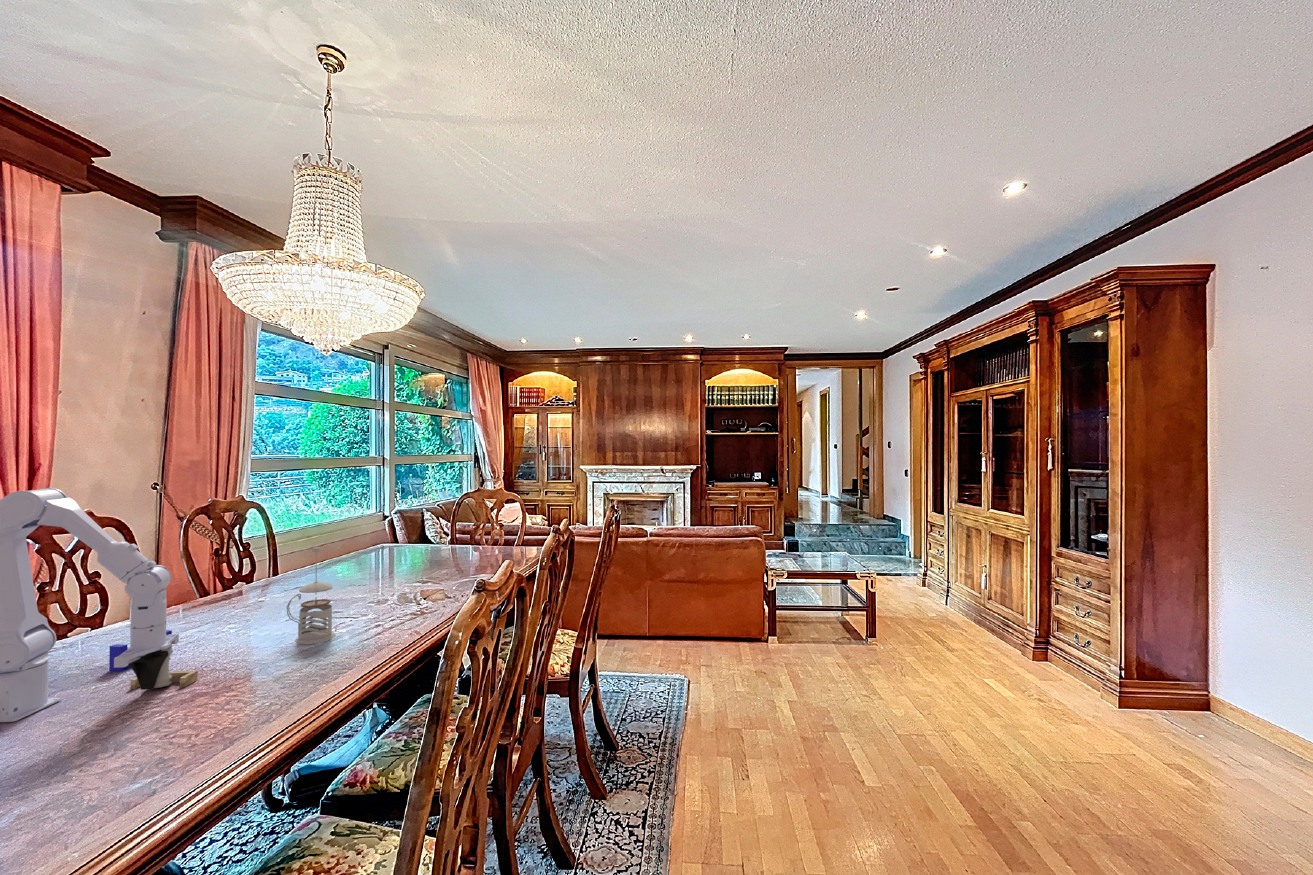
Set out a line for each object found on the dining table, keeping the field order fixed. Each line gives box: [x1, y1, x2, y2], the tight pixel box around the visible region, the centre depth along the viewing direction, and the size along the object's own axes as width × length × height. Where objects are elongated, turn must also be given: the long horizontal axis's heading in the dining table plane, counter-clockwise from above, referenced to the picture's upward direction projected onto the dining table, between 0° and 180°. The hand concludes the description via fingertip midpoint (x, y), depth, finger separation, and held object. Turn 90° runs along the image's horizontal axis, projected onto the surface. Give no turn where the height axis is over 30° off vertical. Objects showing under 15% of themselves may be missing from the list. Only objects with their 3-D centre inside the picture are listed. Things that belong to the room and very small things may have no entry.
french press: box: [286, 546, 337, 645], centre depth 155 cm, size 10×12×25 cm
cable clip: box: [108, 629, 173, 673], centre depth 138 cm, size 12×4×6 cm, turn 171°
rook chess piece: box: [153, 647, 174, 689], centre depth 123 cm, size 4×4×8 cm
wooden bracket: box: [129, 670, 199, 690], centre depth 124 cm, size 4×11×2 cm, turn 95°
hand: (147, 688), depth 120 cm, fingers closed
